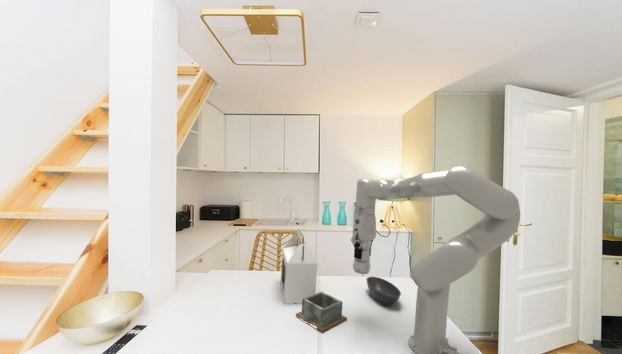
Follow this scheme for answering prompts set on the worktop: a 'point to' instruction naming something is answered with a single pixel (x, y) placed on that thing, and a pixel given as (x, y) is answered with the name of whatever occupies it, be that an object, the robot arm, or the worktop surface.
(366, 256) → the silver bottle
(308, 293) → the gable box
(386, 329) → the worktop surface
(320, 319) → the bottle holder
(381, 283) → the bowl
